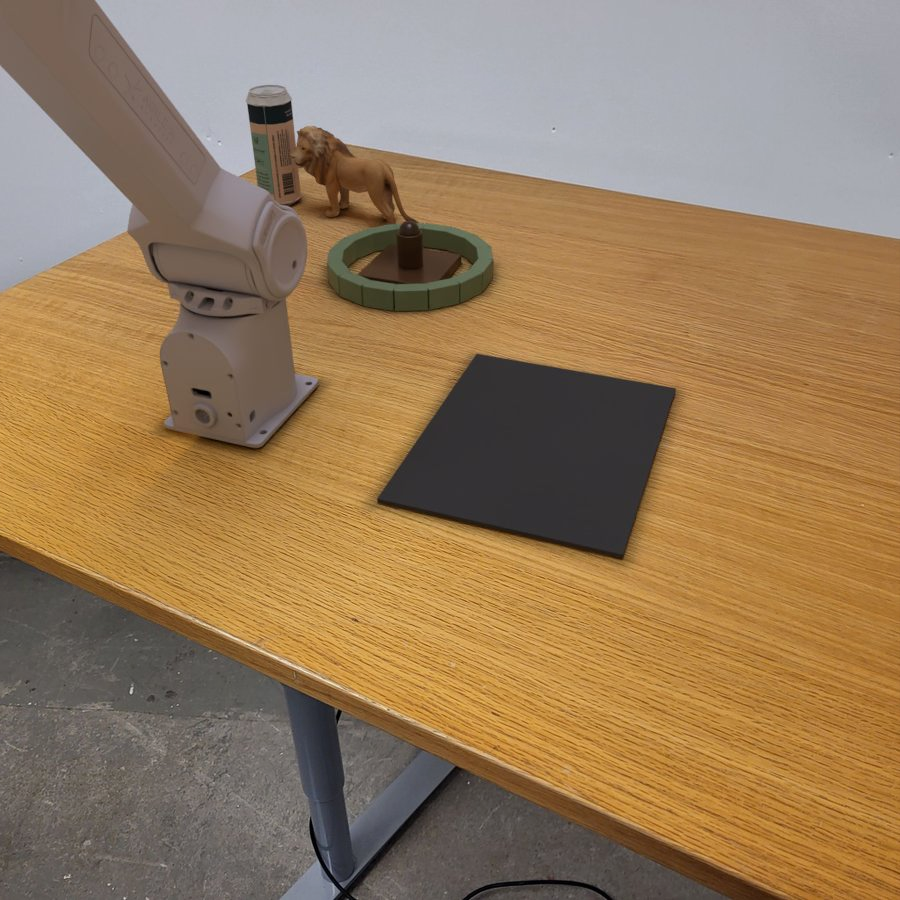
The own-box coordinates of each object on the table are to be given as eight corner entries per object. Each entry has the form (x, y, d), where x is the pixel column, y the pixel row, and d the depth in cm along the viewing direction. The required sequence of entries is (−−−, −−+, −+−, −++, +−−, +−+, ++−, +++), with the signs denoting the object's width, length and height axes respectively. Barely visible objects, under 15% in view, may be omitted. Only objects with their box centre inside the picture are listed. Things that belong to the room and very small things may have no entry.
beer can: (306, 193, 106) (295, 84, 99) (296, 209, 102) (284, 96, 95) (265, 192, 107) (251, 83, 100) (253, 208, 103) (238, 95, 96)
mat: (622, 559, 56) (623, 554, 56) (377, 503, 60) (376, 498, 60) (675, 392, 71) (676, 388, 71) (476, 357, 76) (476, 353, 75)
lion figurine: (289, 214, 101) (279, 130, 96) (317, 199, 105) (309, 117, 100) (407, 238, 95) (403, 150, 90) (431, 221, 99) (430, 135, 94)
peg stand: (433, 296, 85) (432, 242, 82) (357, 284, 87) (353, 231, 84) (461, 263, 90) (461, 212, 87) (389, 253, 93) (387, 202, 90)
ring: (460, 322, 81) (459, 301, 79) (300, 296, 85) (298, 275, 84) (512, 253, 92) (512, 234, 91) (369, 233, 97) (368, 215, 96)
